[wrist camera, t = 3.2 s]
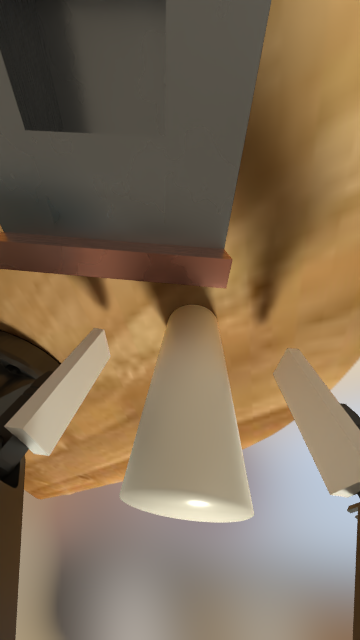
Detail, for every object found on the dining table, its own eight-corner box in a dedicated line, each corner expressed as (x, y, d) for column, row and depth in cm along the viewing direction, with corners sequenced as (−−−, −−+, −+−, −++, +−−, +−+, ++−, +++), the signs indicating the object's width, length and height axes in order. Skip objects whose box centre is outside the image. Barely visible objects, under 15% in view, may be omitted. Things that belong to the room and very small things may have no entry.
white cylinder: (167, 343, 16) (127, 511, 7) (168, 302, 14) (107, 478, 5) (213, 348, 16) (234, 527, 7) (222, 307, 14) (276, 502, 4)
